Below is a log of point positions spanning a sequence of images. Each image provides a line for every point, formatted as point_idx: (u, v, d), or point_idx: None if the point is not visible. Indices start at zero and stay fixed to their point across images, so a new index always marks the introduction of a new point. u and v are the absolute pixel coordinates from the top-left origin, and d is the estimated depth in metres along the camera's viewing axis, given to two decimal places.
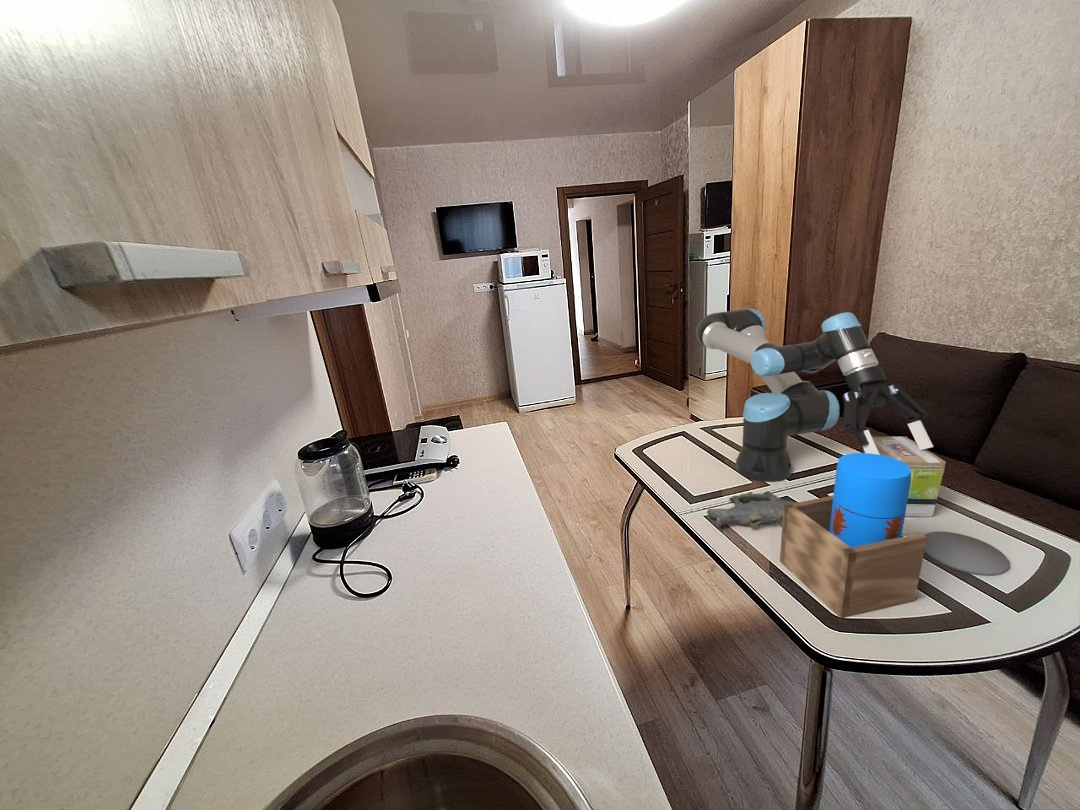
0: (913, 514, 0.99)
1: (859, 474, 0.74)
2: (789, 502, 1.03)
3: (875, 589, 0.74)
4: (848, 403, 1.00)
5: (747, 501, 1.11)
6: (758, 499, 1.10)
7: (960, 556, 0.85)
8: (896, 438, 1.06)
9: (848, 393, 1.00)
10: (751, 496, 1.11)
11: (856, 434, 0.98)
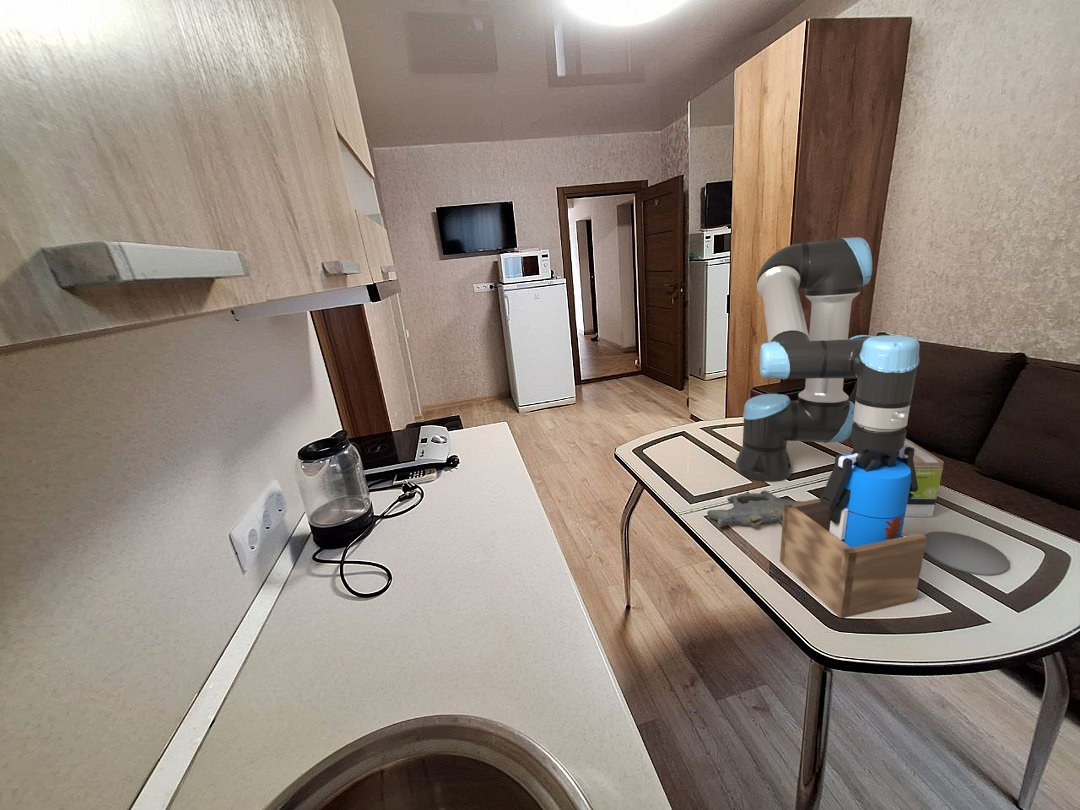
0: (913, 514, 0.99)
1: (859, 474, 0.74)
2: (787, 501, 1.04)
3: (875, 589, 0.74)
4: (839, 472, 0.75)
5: (745, 501, 1.11)
6: (756, 499, 1.10)
7: (960, 556, 0.85)
8: None
9: (844, 461, 0.74)
10: (749, 496, 1.11)
11: (831, 508, 0.78)
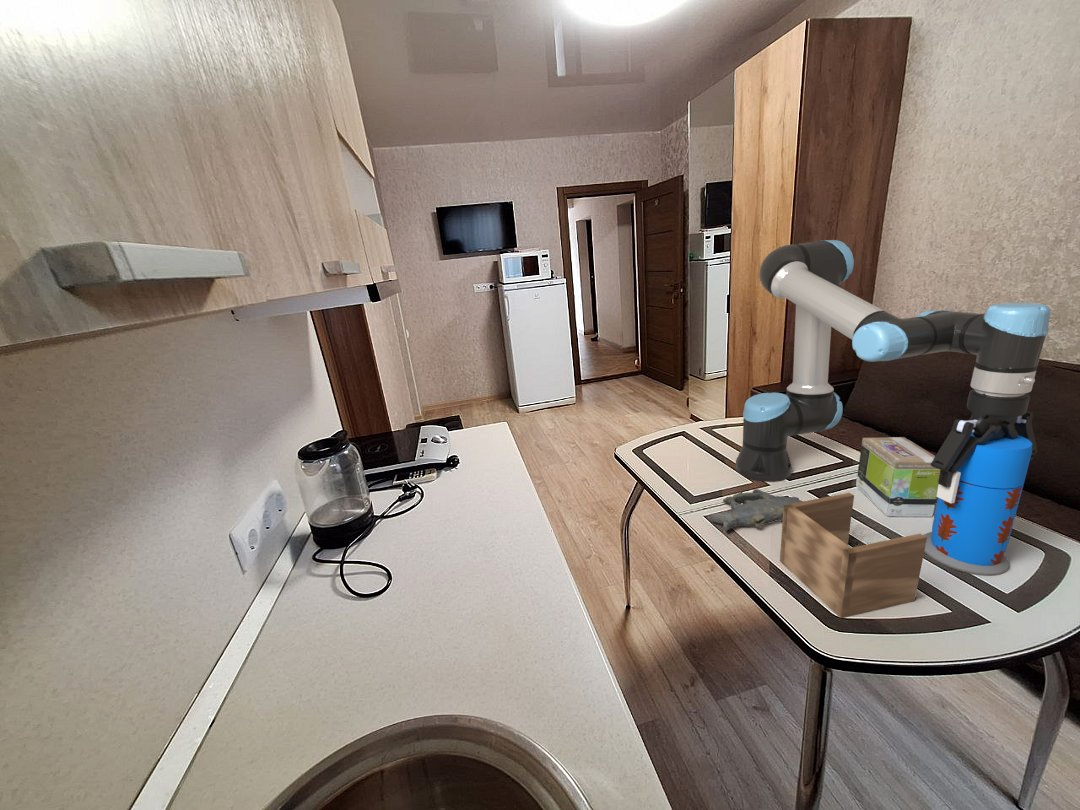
0: (913, 514, 0.99)
1: (980, 446, 0.76)
2: (783, 498, 1.05)
3: (875, 589, 0.74)
4: (957, 436, 0.77)
5: (740, 501, 1.11)
6: (751, 498, 1.11)
7: None
8: (894, 439, 1.06)
9: (966, 425, 0.76)
10: (744, 496, 1.11)
11: (942, 472, 0.79)
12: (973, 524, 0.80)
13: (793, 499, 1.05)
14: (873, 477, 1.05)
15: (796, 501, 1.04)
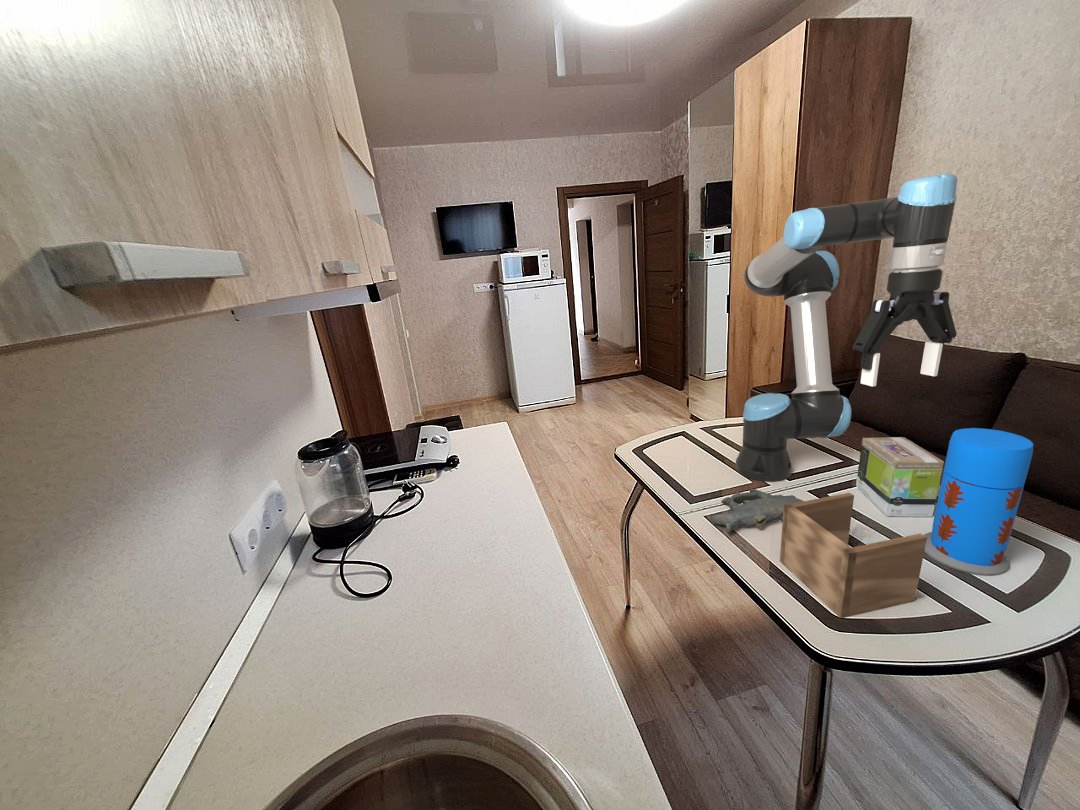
0: (913, 514, 0.99)
1: (981, 446, 0.76)
2: (781, 497, 1.06)
3: (875, 589, 0.74)
4: (875, 315, 0.78)
5: (738, 501, 1.11)
6: (748, 498, 1.11)
7: None
8: (894, 439, 1.06)
9: (882, 303, 0.77)
10: (742, 496, 1.11)
11: (863, 355, 0.81)
12: (973, 524, 0.80)
13: (791, 497, 1.06)
14: (872, 477, 1.05)
15: (794, 499, 1.05)
